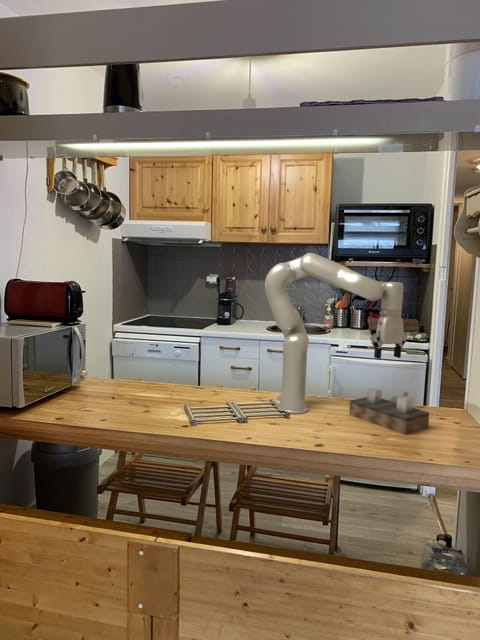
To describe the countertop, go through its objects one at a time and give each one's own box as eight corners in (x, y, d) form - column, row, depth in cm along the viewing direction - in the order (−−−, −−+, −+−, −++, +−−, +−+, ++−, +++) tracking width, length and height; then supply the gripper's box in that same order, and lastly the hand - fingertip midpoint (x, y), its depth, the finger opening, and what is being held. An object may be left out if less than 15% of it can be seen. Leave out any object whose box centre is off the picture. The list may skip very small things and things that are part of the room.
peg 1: (366, 403, 192) (367, 388, 191) (372, 402, 194) (373, 387, 194) (374, 406, 189) (375, 391, 188) (380, 404, 191) (381, 390, 191)
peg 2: (396, 413, 181) (397, 397, 180) (402, 411, 183) (403, 396, 183) (405, 416, 178) (406, 400, 177) (411, 414, 180) (413, 398, 179)
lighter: (389, 409, 204) (391, 390, 203) (389, 407, 205) (390, 389, 204) (407, 410, 202) (408, 391, 201) (406, 409, 204) (408, 390, 203)
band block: (349, 415, 193) (350, 400, 192) (371, 409, 201) (372, 395, 200) (405, 434, 172) (406, 418, 171) (428, 428, 180) (429, 412, 180)
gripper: (379, 315, 179) (376, 360, 181) (415, 315, 186) (411, 358, 188) (366, 312, 186) (363, 356, 188) (401, 312, 193) (397, 355, 195)
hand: (387, 357), depth 188 cm, fingers open, 9 cm apart
